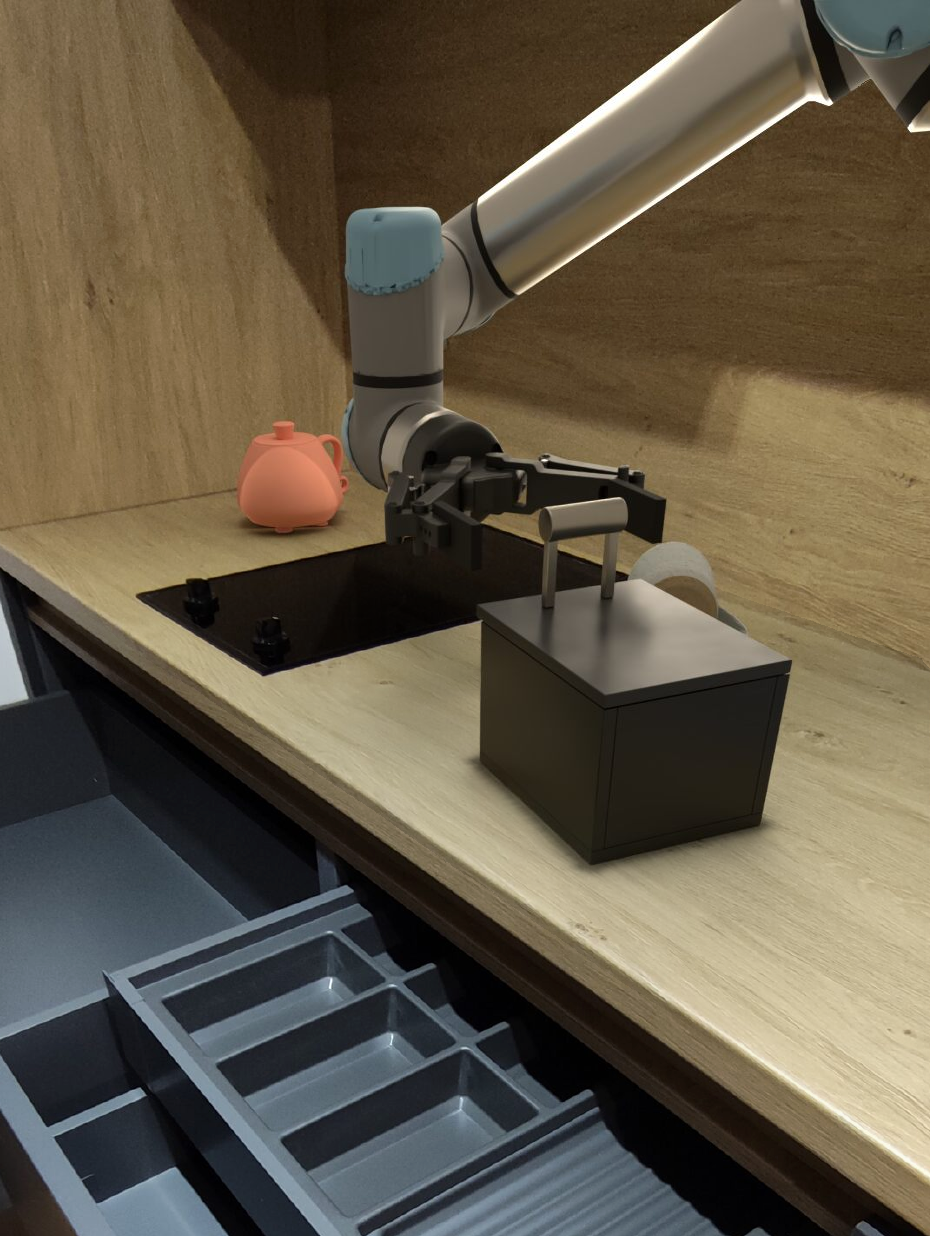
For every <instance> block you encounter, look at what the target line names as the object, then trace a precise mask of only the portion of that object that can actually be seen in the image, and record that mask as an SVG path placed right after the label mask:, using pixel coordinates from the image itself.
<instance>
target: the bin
mask: <svg viewBox="0 0 930 1236" xmlns="http://www.w3.org/2000/svg"><path fill="white" fill-rule="evenodd" d="M480 624H481V625H480V687H479V689H480V690H479V691H480V692H479V693H480V694H479V695H480V696H479V704H480V705H479V709H480V710H479V762H480V763H481V764H482V765H483V766H484V767H485V768H486V769H487V770H488V771H490V772H491V773H492V774H493V775H494V776H495V777H496V778H497V779H498V780H499V781H500V782H501V783H503V784H504V786H505V787H507V788H508V790H510V791H511V792H512V793H513V794H514V796H516V797H517V798H518V799H520V800H521V801H522V803H524V804H525V805H526V806H527V807H528V808H529V809H530V810H531V811H532V812H533V813H535V814H536V815H537V816H538V817H539V818H540V819H541V820H542V821H543V822H544V823H545V824H546V825H547V826H548V827H550V828H551V829H552V830H553V831H554V832H555V833H556V835H558V836H559V837H560V838H561V839H562V840H563V841H564V842H566V843H567V844H568V845H569V847H571V848H572V850H574V851H575V852H576V853H577V854H578V855H579V856H581V858H582V859H583V860H584V861H585V862H586V863H588V864H589V865H590V866H592V865H595V864H600V863H604V862H609V861H612V860H617V859H622V858H626V857H630V856H634V855H639V854H642V853H646V852H650V851H651V852H652V851H655V850H659V849H663V848H668V847H671V846H676V845H680V844H684V843H688V842H693V841H697V840H702V839H706V838H709V837H714V836H718V835H722V834H726V833H731V832H734V831H739V830H743V829H747V828H752V827H756V826H760V825H761V824H762V819H763V815H764V814H763V813H764V809H765V804H766V798H767V793H768V789H769V783H770V779H771V773H772V768H773V763H774V758H775V753H776V748H777V744H778V738H779V734H780V733H779V732H780V728H781V722H782V717H783V713H784V707H785V703H786V699H787V692H788V687H789V682H790V677H791V674H790V673H786V674H781V675H775V676H770V677H765V678H760V679H755V680H750V681H744V682H739V683H734V684H729V685H724V686H719V687H714V688H708V689H703V690H698V691H693V692H688V693H683V694H678V695H672V696H667V697H662V698H657V699H652V700H647V701H642V702H636V703H631V704H626V705H621V706H616V707H611V708H603V707H601V706H600V705H599V704H597V703H596V702H594V701H593V700H592V699H590V698H589V697H587V696H586V695H585V694H583V693H582V692H581V691H579V690H578V689H576V688H575V687H574V686H572V685H571V684H569V683H568V682H567V681H565V680H564V679H563V678H561V677H560V676H558V675H557V674H556V673H554V672H553V671H551V670H550V669H549V668H547V667H546V666H545V665H543V664H542V663H540V662H539V661H538V660H536V659H535V658H533V657H532V656H531V655H529V654H528V653H527V652H525V651H524V650H522V649H521V648H520V647H518V646H517V645H516V644H514V643H513V642H511V641H510V640H509V639H507V638H506V637H504V636H503V635H502V634H500V633H499V632H498V631H496V630H495V629H493V628H492V627H491V626H489V625H488V624H486V623H485V622H484V621H482V620H481V622H480Z"/></svg>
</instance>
